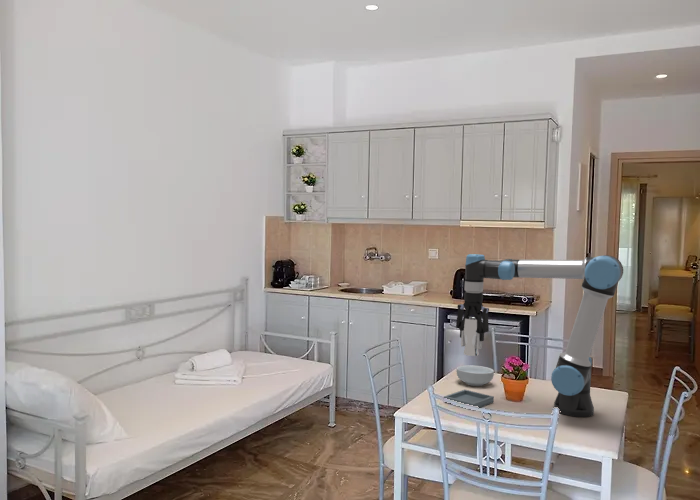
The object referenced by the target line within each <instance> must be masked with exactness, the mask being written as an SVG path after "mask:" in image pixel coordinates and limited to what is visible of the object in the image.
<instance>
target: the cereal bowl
mask: <svg viewBox="0 0 700 500" xmlns="http://www.w3.org/2000/svg"><path fill="white" fill-rule="evenodd" d="M494 375H495V371H494V369H493V368H491V367H487V366H481V365H472V364H471V365H470V364H469V365H459V366H457V367H456V376H457V377H458V379H459V380H460V381H462V382H464V383H465V384H466V385H467V386H472V387H482V386H484V385H486V384H489V383H490V382H492V380H493V379H494Z"/></svg>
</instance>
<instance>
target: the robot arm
mask: <svg viewBox="0 0 700 500" xmlns="http://www.w3.org/2000/svg"><path fill="white" fill-rule="evenodd" d="M465 257H466V258H465V266H464V267H465V268H464V269H465V270H464V271H465V274H464V291H465V292H464V294H463V295H464V296H463V300H464V302H463V304H462V303H461V304H457V306H456V307H457V316H456V322H455V323H456V324H455V328H456V329H458V330H459V338H460V339H461V341H460V345H461V347H465V339H464V320H465V318H466V319H469V317H471V315H473V317H475V318H476V320H477V325H478V330H479V333H477V349H478V350H481V349H482V348H483V342H484V340H485V333H489V332H490V328H489V327H490V325H489V312H490V308H489V307H485V306H483V302H484V301H483V299H484V293H483V292H484V282H485V281H484V279H492V280H502V281H511V280H513V279H514V278H517V279H518V278H526V279H527V278H528V279H530V278H531V279H534V278H535V279H563V280H569V279H570V280H583V281H582V284H581V289H582V290H583V294H582V298H581V301H580V305H579V308H578V311H577V314H576V317H575V320H574V323H573V326H572V330H571V333H570V335H569V338H568V342H567V345H566V349H565V351H563V352H561V353H560V354H559V357H558V360H557V362H556V365H555V368H554V370H553V371H552V372H551V376H550V377H551V379H550V380H551V385H552V386H553V388H554V389H555V390H556V391H557V392H558V393H557V395H556V397H555V400H554V403H553V408H554V407H558V408H559V409H560V411H561V413H560V415H561V414H562V415H565V416H570V417H576V418H577V417H578V418H587V417H588V418H589V417H591V416H592V417H593V416H594V413H595V408H594V403H593V401H592V397H591V383H592V382H591V381H592V380H591V379H592V367H593V363H592V362H593V360H592V358H591V352H592V350H593V346H594V343H595V341H596V337H597V334H598V331H599V328H600V325H601V322H602V319H603V316H604V313H605V311H606V310H605V309H606V306H607V304H608V300H609V299H611V298H613V297H614V296H615V293H616V291H617V286H618V285H619V282H620V281H621V279H622V278H623V275H624V267H623V264H622V262H621V260H619V259H618V258H617V257H615V256H613V255H609V254H608V255H607V254H605V255H598V256H594V257H589V256H588V257H585V258H584V259H513V258H505V259H502V260H496V259H493V260H492V259H486V258H485V255H484V254H477V253H476V254H475V253H473V254H472V253H470V254H467V255H466V256H465ZM464 309H465V311H464ZM481 312H482V313H481ZM482 350H483V349H482Z"/></svg>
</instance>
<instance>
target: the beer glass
mask: <svg viewBox="0 0 700 500" xmlns="http://www.w3.org/2000/svg"><path fill="white" fill-rule="evenodd" d="M477 333H479V330H478V325H477V320H476V318H475V317H474V316H473V317H472V316H470V317H469V319H466V318H465V320H464V339H465V346H464V350H463V355H464V356H469V357H478V356H479V353H480V352H479V349H477Z"/></svg>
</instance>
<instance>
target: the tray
mask: <svg viewBox="0 0 700 500" xmlns="http://www.w3.org/2000/svg"><path fill="white" fill-rule="evenodd" d="M494 397H495V396H493V395H489V394H484V393H480V392H478V391H476V392H475V391H473V390H469V389H462V390H459V391H457V392H454V393H451V394H447V395H444V396H443V399H444V398H447V399H450V400H454V401H457V402H461V403H464V404H469V405H473V406H478V407H481V408H483V407H485V405H486V406H488V405H490V403H491V404H494V403H493V402H494V400H495V399H494Z"/></svg>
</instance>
